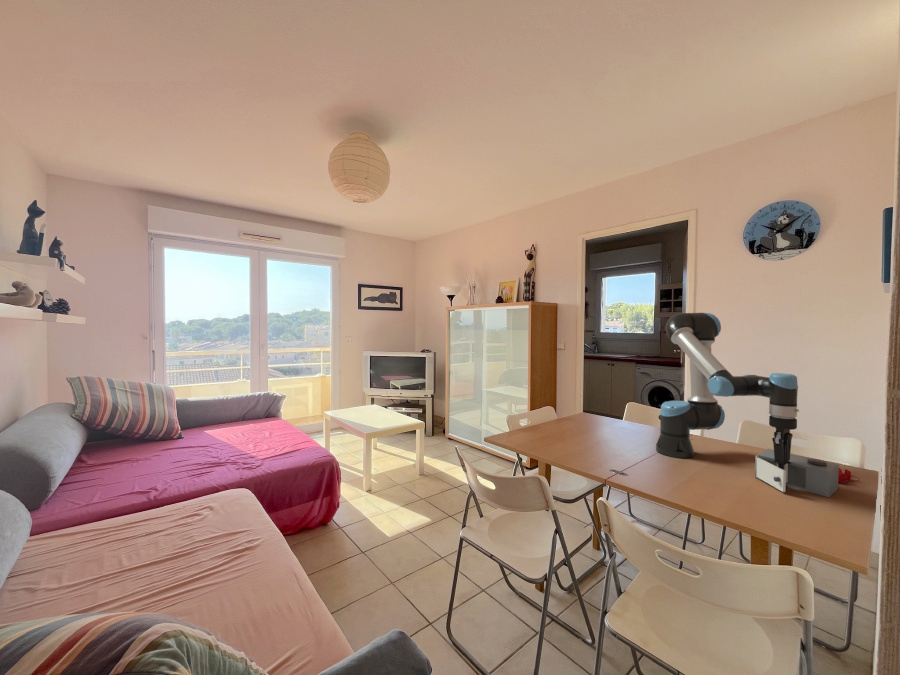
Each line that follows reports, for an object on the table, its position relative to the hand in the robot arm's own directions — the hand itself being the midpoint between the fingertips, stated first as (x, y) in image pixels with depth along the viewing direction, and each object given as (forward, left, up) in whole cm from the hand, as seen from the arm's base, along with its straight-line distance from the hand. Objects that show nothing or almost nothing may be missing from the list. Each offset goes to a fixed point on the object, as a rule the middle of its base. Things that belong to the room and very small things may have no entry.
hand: (782, 481), depth 136 cm
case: (+2, +9, -2) cm, 10 cm away
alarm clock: (+8, +26, -3) cm, 27 cm away
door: (-3, -2, -2) cm, 5 cm away
